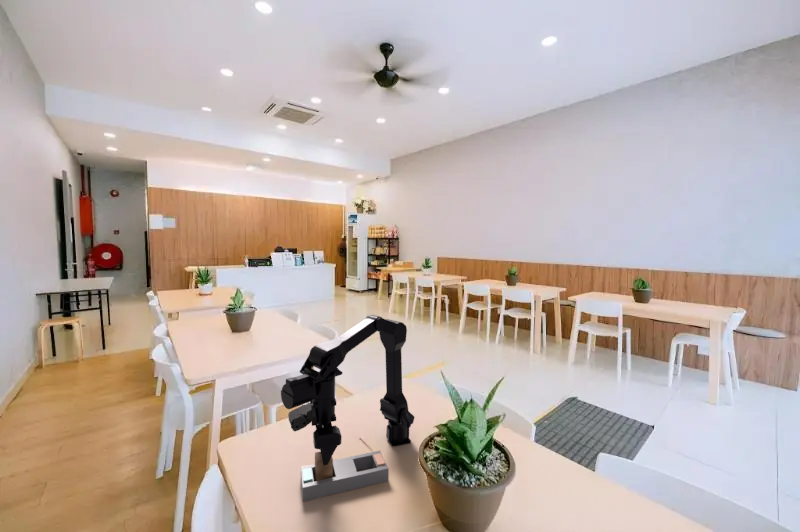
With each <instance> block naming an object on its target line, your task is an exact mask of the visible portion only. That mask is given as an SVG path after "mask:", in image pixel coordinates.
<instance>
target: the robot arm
mask: <svg viewBox="0 0 800 532" xmlns="http://www.w3.org/2000/svg"><path fill="white" fill-rule="evenodd" d="M376 332H378V333H379V340H380V342H381V344H382V345H383V347H384V349H385V352H384V353H385V381H386V382H385V385H386V392H385V394H384V396H383V398H380V400H379V403H380V409H379V411H380V412H381V414H382V416H383V417H384V419H385V420H387V425H386V439H387V441H388V442H389V444H390V446H391V447H398V446H399V447H400V446H404V445H408V444H411V443H412V440H411V439H410V428H411V426H412V425H413V424H414V421H415V416H414V414H412V412H411V411H409V404H408V401H407V398H406V396H405V395H404V392H403V373H402V371H403V368H402V365H403V364H402V349H403V346H404V345H405V343H406V341H407V332H408V329H407V325H406V324H405V323H404V322H402V321H401V322H400V321H397V320H394V319H388V318H386V319H385V318H383V317H382V316H379V315H375V314H369V315H367V316H366V317H365V318H364V319H363V320H362V321H360V322H358V323H356V325H354V326H353V327H351V328H350V329H348V330H347V331H345V332H344V333H342V334H341V335H339V336H338V337H336V338H334V339H329V340H324V341H321V342H320V343H317V344H316V345H313V347H311V349H310V350H309V354H308V355H307V357H306V360H305V362H304V363H303V365H302V367H301V368H300V370H299V373H300V375H297V376H294V377H288V378H286V379H285V383H284V384H283V385H282V387H281V390H280V398H281V401H282V405H283V406H284V407H285V408H286V410H290V411H289V412H288V421H289V424H290V429H291V430H292V431H293V432H297V431H298V432H299V431H300V430H302V429H304V428H306V427H307V426H308V425H310V424H311V426H312V427H313V426H315V430H314V431H313V434H312V438H313V439H312V440H313V446H314V449H315V450H319V452H321V456H322V461H323V465H328V463H329V461H330V459H331V457H332V458H333V455H334V453H335V451H336V449H337V447H339V446H340V445H342V434H341V429H340V428H339V427H338V426H337V425H333V424H332V423H333V422H337V415H336V406H337V400H336V377H338V376H341V375H343V371H341V370H340V369H339V368H338V367H339V366H340V365H341V364H342V363H343V362H344V360H345V358H346V355H347V354H348V353H349V352H350V351H352V350H353V349H354V348H356V347H358V346H359V345H360V344H361V343H363V342H364V341H365V340H367V339H368V338H370V337H372V335H374V334H375V333H376ZM314 368H316V369H318V370H319V371H317V370H315V369H314ZM291 409H292V410H291Z"/></svg>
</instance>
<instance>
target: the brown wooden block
mask: <svg viewBox="0 0 800 532" xmlns="http://www.w3.org/2000/svg"><path fill="white" fill-rule="evenodd" d="M333 460H334V459H333V456H332V457H331V459H330V461H329V463H328V465H323V461H322V456H321V451H317V452H315V453H314V464H315V480H314V482H315V481H319V480H324V479H328V478H333Z"/></svg>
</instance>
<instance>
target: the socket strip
mask: <svg viewBox="0 0 800 532" xmlns="http://www.w3.org/2000/svg"><path fill="white" fill-rule="evenodd" d="M368 468H369V469H368ZM364 469H365V470H364ZM389 469H390V468H389V466H388V463H387V462H386V460H385V458H384V456H383V453H382V452H381V450H377V451H372V452H365V453H361V454H358V455H357V454H356V455H352V456H347V457H342V458H341V457H340V458H338V459H333V478H328V479H324V480H319V481H315V463H312V464H308V465H307V464H306V465H303V466H300V486H301V496H302V502H306V501H310V500H314V499H320V498H323V497H326V496H327V497H328V496H332V495H336V494H340V493H344V492H348V491H352V490H355V489H360V488H364V487H369V486H373V485H378V484H382V483H385V482H386V483H387V482H389V472H390V471H389ZM359 470H361V471H359Z"/></svg>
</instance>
